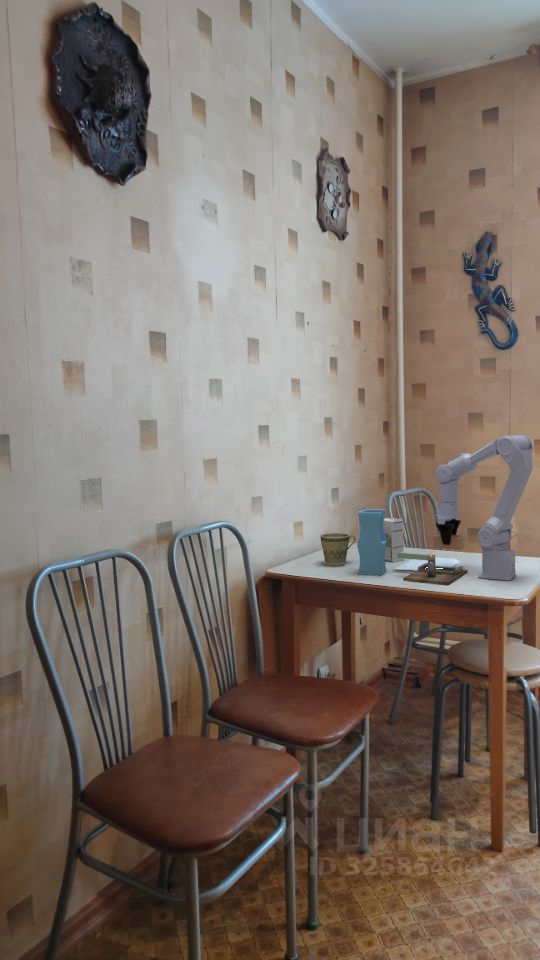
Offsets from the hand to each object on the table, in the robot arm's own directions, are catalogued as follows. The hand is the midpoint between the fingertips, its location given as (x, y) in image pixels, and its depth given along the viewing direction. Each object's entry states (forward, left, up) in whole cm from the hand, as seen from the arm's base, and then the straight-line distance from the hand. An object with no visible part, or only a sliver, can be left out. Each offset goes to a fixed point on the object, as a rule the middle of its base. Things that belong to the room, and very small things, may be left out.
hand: (448, 543), depth 230 cm
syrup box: (+22, -6, -9) cm, 24 cm away
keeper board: (0, +12, -8) cm, 15 cm away
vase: (+20, +15, -9) cm, 27 cm away
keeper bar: (+5, +16, -3) cm, 17 cm away
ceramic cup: (+36, +7, -9) cm, 38 cm away
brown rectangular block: (0, 0, -1) cm, 1 cm away
